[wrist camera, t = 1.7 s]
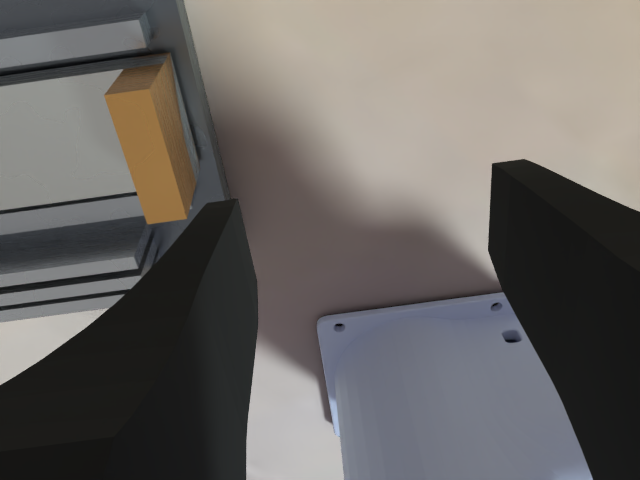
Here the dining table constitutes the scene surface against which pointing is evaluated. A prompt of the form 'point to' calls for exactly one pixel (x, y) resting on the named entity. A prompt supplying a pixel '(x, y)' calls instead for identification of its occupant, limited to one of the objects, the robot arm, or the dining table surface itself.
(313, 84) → the dining table surface
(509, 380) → the robot arm
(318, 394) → the dining table surface
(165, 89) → the grey orange block
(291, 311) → the dining table surface
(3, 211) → the heatsink plate
